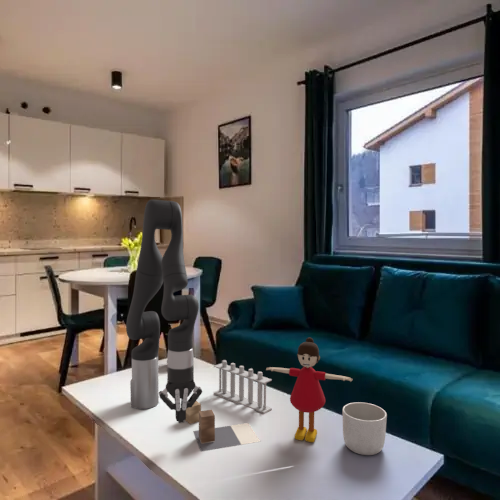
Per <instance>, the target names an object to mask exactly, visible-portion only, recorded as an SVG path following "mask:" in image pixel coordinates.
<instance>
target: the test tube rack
mask: <svg viewBox="0 0 500 500" xmlns="http://www.w3.org/2000/svg"><path fill="white" fill-rule="evenodd" d="M213 367H214V368H216V369H218V373H219V378H218V380H219V381H218V382H219V383H218V385H219V386H218V390H215V391H213V395H216V396H218V397H220V398H223V399H225V400H228V401H231V402H232V401H233V402H232V403H235V404H237V403H238V405H239V406H241V405H243V406H244V407H245V406H246V407H248V408H251V409H253V410H254V411H256V412H257V413H260V414H263V415H264V414H267V413H268V412H270V411H272V409H273V408H272V407H271V406H268V405H267V383H270V382H272V380H273V379H272V378H268V377H266V376H263V375H264V374H263V372H262V371H257V374H256V373H254V369H253V368H248V371H247V370H245V366H244V365H239V366H238V367H239V368H238V367H236V363H234V362H231V363H230V365H228V362H227V360H226V359H223V360H221V363H218V364H215V365H214V366H213ZM228 373H230V391H228V390H227V388H228V387H227V386H228V385H227V384H228ZM236 375H237V376H239V377H238V379H239V380H238V383H239V384H238V394H237V393H236ZM245 378H246V379H247V382H248V383H247V389H248V390H247V397H245ZM254 382H257V401H255V400H254Z"/></svg>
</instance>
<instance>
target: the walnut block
mask: <svg viewBox="0 0 500 500" xmlns="http://www.w3.org/2000/svg"><path fill="white" fill-rule="evenodd" d="M215 415H216V414H215V413H214V411H213V409H207V410H201V411H199V422H198V430H199V439H200V441H201V444H203V443H209V442H215V428H216V425H215V424H216V422H215V421H216V416H215Z"/></svg>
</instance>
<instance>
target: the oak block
mask: <svg viewBox="0 0 500 500" xmlns="http://www.w3.org/2000/svg"><path fill="white" fill-rule="evenodd" d="M199 411H202V404H201V403H200V402H199V401H197V400H196V402H195V403H194V404H193V406H192V407H189V408H187V409H186V420H185V421H186V422H187V424H189V425H191V424H195V423H199Z"/></svg>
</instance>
